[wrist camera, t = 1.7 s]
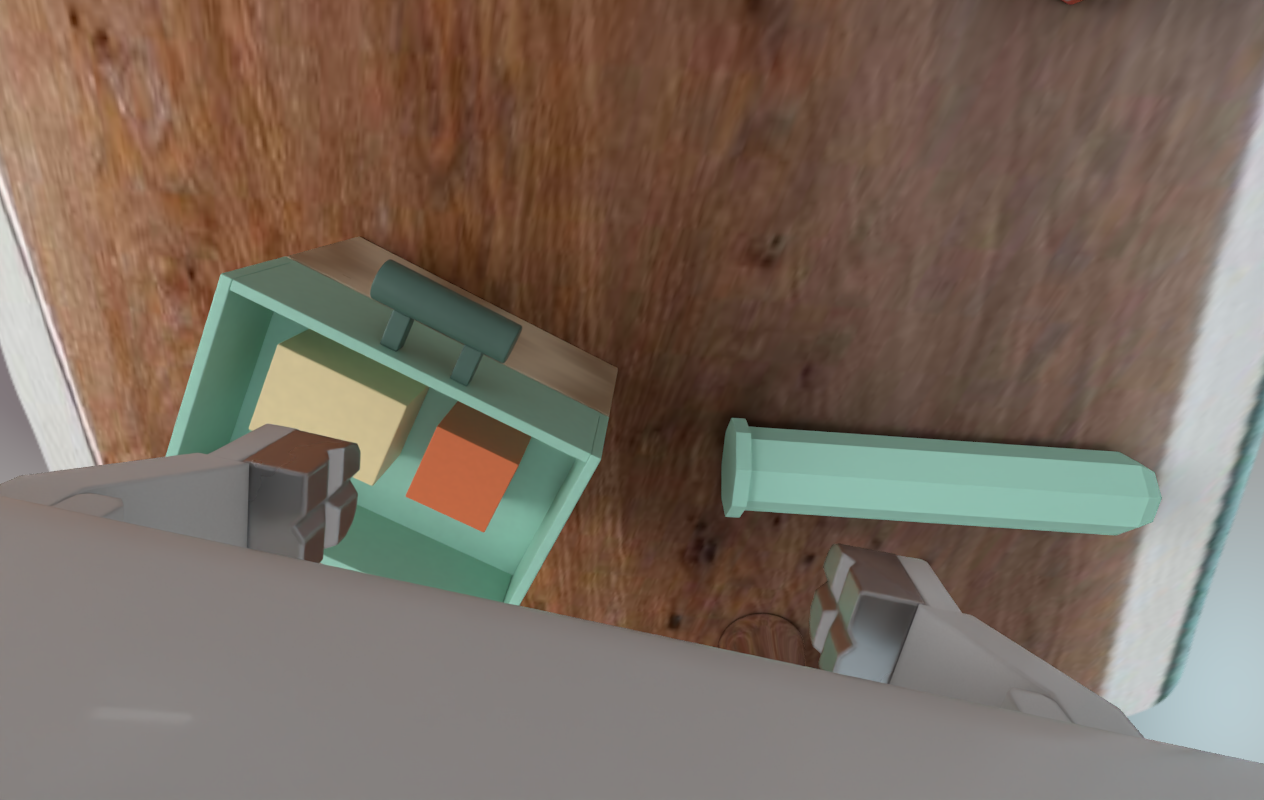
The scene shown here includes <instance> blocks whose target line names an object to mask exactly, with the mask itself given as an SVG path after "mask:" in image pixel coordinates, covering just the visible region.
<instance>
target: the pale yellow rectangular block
mask: <svg viewBox="0 0 1264 800" xmlns="http://www.w3.org/2000/svg"><path fill="white" fill-rule="evenodd" d="M429 388H430V387H428V386H426V385H424V384H422V383H420V382H418V381H416V380H414V379H412V378H410V377H408V376H406V375H404V374H402V373H400V372H398V371H395V370H393V369H391V368H389V367H387V366H385V365H383V364H381V363H379V362H377V361H375V360H373V359H371V358H369V357H367V356H365V355H363V354H360V353H358V352H356V351H354V350H352V349H350V348H348V347H346V346H344V345H342V344H340V343H338V342H336V341H334V340H332V339H330V338H328V337H325V336H323V335H321V334H319V333H317V332H315V331H313V330H311V329H308V330H306V331H304V332H302V333H300V334H298V335H296V336H294V337H291V338H289V339H287V340H285V341H283V342H281V343H279V344H278V345H277V347H276V350H275V353H274V356H273V359H272V362H271V365H270V368H269V371H268V373H267V376H266V379H265V382H264V385H263V388H262V391H261V394H260V397H259V399H258V402H257V405H256V408H255V411H254V414H253V417H252V420H251V423H250V426H249V430H251V431H253V430H255V429H257V428H259V427H261V426H263V425H265V424H267V423H268V424H274V425H279V426H285V427H290V428H296V429H299V430H300V431H305V432H309V433H314V434H318V435H323V436H327V437H331V438H336V439H340V440H345V441H349V442H353V443H357V444H358V446H359V449H360V451H361V457H360V470H359V471H358V472H357V473H356V474H355V475H354V476H353V478H355V479H358V480H360V481H362V482H364V483H366V484H369V485H371V486H373V485H374V484H375V483H376V482H377V481H378V479H379V478H380V477H381V476H382V475H383V474H384V473H385V471H386V470H387V469H388V468H389V467H390V466H391V464H392V463H393V462H394V461H395V460H396V459H397V458H398V456H399V455H400V453H401V451H402V449H403V447H404V444H405V442H406V440H407V438H408V435H409V433H410V431H411V428H412V426H413V424H414V422H415V419H416V417H417V415H418V413H419V410H420V408H421V406H422V403H423V401H424V399H425V397H426V394H427V392H428V390H429Z"/></svg>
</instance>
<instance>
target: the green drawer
mask: <svg viewBox="0 0 1264 800" xmlns="http://www.w3.org/2000/svg"><path fill="white" fill-rule="evenodd" d="M370 296H371V298H372V299H374V300H376V301H378V302H380V303H382V304H384V305H386V306H388V307H390V308H392V309H394V310H392V309H390V308H388V307H386V306H384V305H382V304H380V303H378V302H376V301H374V300H372V299H370V298H368V297H366V296H364V295H362V294H360V293H358V292H356V291H354V290H352V289H350V288H348V287H346V286H344V285H342V284H340V283H338V282H336V281H334V280H332V279H330V278H328V277H326V276H324V275H322V274H320V273H318V272H316V271H314V270H312V269H310V268H308V267H306V266H304V265H302V264H300V263H298V262H296V261H294V260H292V259H290V258H288V257H282V258H278V259H274V260H271V261H267V262H263V263H260V264H256V265H252V266H248V267H245V268H241V269H237V270H233V271H230V272H226V273H222V274H221V275H220V278H219V282H218V285H217V288H216V292H215V295H214V298H213V302H212V305H211V308H210V311H209V315H208V318H207V321H206V325H205V328H204V331H203V335H202V338H201V341H200V344H199V348H198V351H197V354H196V358H195V361H194V364H193V368H192V371H191V374H190V377H189V381H188V384H187V387H186V391H185V394H184V397H183V401H182V404H181V407H180V411H179V414H178V417H177V420H176V424H175V427H174V430H173V434H172V437H171V440H170V444H169V447H168V450H167V453H166V457H168V456H176V455H183V454H191V453H203V454H209V453H211V452H213V451H215V450H217V449H219V448H221V447H223V446H225V445H227V444H229V443H230V442H232V441H234V440H236V439H238V438H240V437H242V436H244V435H246V434H248V433H249V432H251V430H249V426H250V423H251V420H252V417H253V414H254V411H255V408H256V405H257V402H258V399H259V397H260V394H261V391H262V388H263V385H264V382H265V379H266V376H267V373H268V371H269V368H270V365H271V362H272V359H273V356H274V353H275V350H276V347H277V345H278V344H279V343H281V342H283V341H285V340H287V339H289V338H291V337H294V336H296V335H298V334H300V333H302V332H304V331H306V330H308V329H311V330H313V331H315V332H317V333H319V334H321V335H323V336H325V337H328V338H330V339H332V340H334V341H336V342H338V343H340V344H342V345H344V346H346V347H348V348H350V349H352V350H354V351H356V352H358V353H360V354H363V355H365V356H367V357H369V358H371V359H373V360H375V361H377V362H379V363H381V364H383V365H385V366H387V367H389V368H391V369H393V370H395V371H398V372H400V373H402V374H404V375H406V376H408V377H410V378H412V379H414V380H416V381H418V382H420V383H422V384H424V385H426V386H428V387H430V388H429V390H428V392H427V394H426V397H425V399H424V401H423V403H422V406H421V408H420V410H419V413H418V415H417V417H416V419H415V422H414V424H413V426H412V428H411V431H410V433H409V435H408V438H407V440H406V442H405V444H404V447H403V449H402V451H401V453H400V455H399V456H398V458H397V459H396V460H395V461H394V462H393V463H392V464H391V466H390V467H389V468H388V469H387V470H386V471H385V473H384V474H383V475H382V476H381V477H380V478H379V479H378V481H377V482H376V483H375V484H374V485H373V486H371V485H369V484H366V483H364V482H362V481H360V480H358V479H355V478H353V477H352V478H351V479H350V480H351V482H352V484H353V486H354V487H355V489H356V491H357V493H358V500H357V508H356V512H355V516H354V520H353V523H352V525H351V527H350V529H349V531H348V533H347V535H346V536H345V537H344V538H343V539H342V541H341V542H340V543H339V544H338V545H336V546H333V547H330V548H326V549H324V554H323V560H322V561H321V562H320V563H322V564H325V565H329V566H334V567H339V568H344V569H348V570H353V571H358V572H362V573H367V574H372V575H376V576H381V577H386V578H391V579H395V580H400V581H405V582H409V583H414V584H419V585H424V586H428V587H433V588H438V589H442V590H447V591H452V592H457V593H461V594H466V595H471V596H475V597H480V598H485V599H490V600H494V601H499V602H504V603H508V604H513V605H518V606H519V605H520V603H521V602H522V600H523V598H524V596H525V594H526V593H527V591H528V589H529V587H530V586H531V584H532V582H533V580H534V578H535V577H536V575H537V573H538V571H539V569H540V568H541V566H542V564H543V562H544V561H545V559H546V557H547V555H548V553H549V552H550V550H551V548H552V546H553V544H554V543H555V541H556V539H557V537H558V536H559V534H560V532H561V530H562V528H563V527H564V525H565V523H566V521H567V520H568V518H569V516H570V514H571V512H572V511H573V509H574V507H575V505H576V503H577V502H578V500H579V498H580V496H581V495H582V493H583V491H584V489H585V487H586V486H587V484H588V482H589V480H590V478H591V477H592V475H593V473H594V471H595V470H596V468H597V466H598V464H599V462H600V461H601V457H602V451H603V446H604V441H605V436H606V430H607V425H608V420H609V417H607V416H605V415H603V414H601V413H599V412H597V411H595V410H593V409H591V408H589V407H587V406H585V405H583V404H581V403H579V402H577V401H575V400H573V399H571V398H569V397H567V396H565V395H563V394H561V393H559V392H557V391H555V390H553V389H551V388H549V387H547V386H545V385H543V384H541V383H539V382H537V381H535V380H533V379H531V378H529V377H527V376H525V375H523V374H521V373H519V372H517V371H515V370H513V369H511V368H509V367H507V366H505V365H503V364H501V363H505V362H506V360H507V359H508V357H509V355H510V354H511V352H512V350H513V348H514V346H515V344H516V342H517V340H518V338H519V336H520V333H521V331H522V325H520V324H518V323H516V322H514V321H512V320H510V319H508V318H506V317H504V316H502V315H500V314H498V313H497V312H495V311H493V310H491V309H489V308H487V307H485V306H483V305H481V304H479V303H477V302H475V301H473V300H471V299H469V298H467V297H465V296H463V295H461V294H459V293H457V292H455V291H453V290H451V289H449V288H447V287H445V286H443V285H441V284H439V283H437V282H435V281H434V280H432V279H430V278H428V277H426V276H424V275H422V274H420V273H418V272H416V271H414V270H412V269H410V268H408V267H406V266H404V265H402V264H400V263H398V262H396V261H394V260H392V259H389V260H387V261H386V262H385V263H384V264H383V265H382V266H381V267H380V269H379V270H378V272H377V274H376V276H375V278H374V280H373V283H372V286H371V290H370ZM415 320H416V321H415ZM417 321H418V322H417ZM419 322H420V323H419ZM421 323H422V324H421ZM423 324H424V325H423ZM425 325H426V326H425ZM427 326H428V327H427ZM429 327H430V328H429ZM431 328H432V329H431ZM433 329H434V330H433ZM435 330H436V331H435ZM437 331H438V332H437ZM439 332H440V333H439ZM441 333H442V334H441ZM443 334H444V335H443ZM445 335H446V336H445ZM447 336H448V337H447ZM449 337H450V338H449ZM451 338H452V339H451ZM453 339H454V340H453ZM455 340H456V341H455ZM457 341H458V342H457ZM459 342H460V343H459ZM461 343H462V344H461ZM463 344H464V345H463ZM484 354H485V355H487V356H489V357H491V358H493V359H495V360H497V361H499V362H501V363H499V362H497V361H495V360H493V359H491V358H489V357H487V356H485V355H484ZM457 401H459V402H461V403H463V404H465V405H468V406H470V407H472V408H474V409H476V410H478V411H480V412H482V413H484V414H486V415H488V416H490V417H492V418H494V419H496V420H498V421H500V422H503V423H505V424H507V425H509V426H511V427H513V428H515V429H517V430H519V431H521V432H523V433H525V434H527V435H529V436H531V440H530V442H529V444H528V446H527V448H526V451H525V453H524V455H523V457H522V460H521V462H520V464H519V466H518V468H517V470H516V472H515V474H514V476H513V478H512V480H511V482H510V484H509V486H508V488H507V490H506V491H505V493H504V495H503V497H502V499H501V501H500V503H499V505H498V507H497V509H496V511H495V513H494V515H493V517H492V519H491V521H490V523H489V525H488V527H487V528H486V530H485V532H481V531H479V530H477V529H475V528H473V527H470V526H468V525H466V524H464V523H462V522H460V521H457V520H455V519H453V518H451V517H449V516H447V515H444V514H442V513H440V512H438V511H436V510H433V509H431V508H429V507H427V506H425V505H423V504H420V503H418V502H416V501H414V500H412V499H410V498H407V497H406V493H407V491H408V489H409V487H410V485H411V482H412V480H413V478H414V476H415V474H416V471H417V469H418V467H419V465H420V463H421V460H422V458H423V456H424V454H425V452H426V449H427V447H428V445H429V443H430V441H431V438H432V436H433V434H434V432H435V430H436V427H437V426H438V425H439V423H440V422H441V421H442V420H443V418H444V417H445V416H446V415H447V414H448V412H449V411H450V410H451V409H452V407H453V406H454V405H455V404H456V403H457Z"/></svg>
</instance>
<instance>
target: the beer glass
mask: <svg viewBox="0 0 1264 800" xmlns="http://www.w3.org/2000/svg"><path fill="white" fill-rule="evenodd" d="M718 648H720V649H725V650H730V651H734V652H739V653H744V654H749V655H753V656H758V657H763V658H768V659H772V660H777V661H782V662H786V663H791V664H796V665H801V666H805V647H804V642H803V638H802V636H801V634H800V632H799V631H798V630H797V628H796V627H795V626H794V625H793V624H792V623H790V622H789V621H787V620H786V619H784V618H781V617H779V616H775V615H771V614H753V615H749V616H745V617H743V618H740V619H738V620H737V621H735V622H734V623H732V624H731V625H730V626H729V627H728V628H727V629H726V630H725V631H724V633H723V634H722V636H721V638H720V641H719V645H718Z"/></svg>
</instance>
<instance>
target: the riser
mask: <svg viewBox="0 0 1264 800" xmlns="http://www.w3.org/2000/svg"><path fill="white" fill-rule="evenodd" d="M288 258H290V259H292V260H294V261H296V262H298V263H300V264H302V265H304V266H306V267H308V268H310V269H312V270H314V271H316V272H318V273H320V274H322V275H324V276H326V277H328V278H330V279H332V280H334V281H336V282H338V283H340V284H342V285H344V286H346V287H348V288H350V289H352V290H354V291H356V292H358V293H360V294H362V295H364V296H366V297H368V298H370V299H372V298H371V296H370V290H371V286H372V283H373V280H374V278H375V276H376V274H377V272H378V270H379V269H380V267H381V266H382V265H383V264H384V263H385V262H386V261H387V260H389V259H392V260H394V261H396V262H398V263H400V264H402V265H404V266H406V267H408V268H410V269H412V270H414V271H416V272H418V273H420V274H422V275H424V276H426V277H428V278H430V279H432V280H434V281H435V282H437V283H439V284H441V285H443V286H445V287H447V288H449V289H451V290H453V291H455V292H457V293H459V294H461V295H463V296H465V297H467V298H469V299H471V300H473V301H475V302H477V303H479V304H481V305H483V306H485V307H487V308H489V309H491V310H493V311H495V312H497V313H498V314H500V315H502V316H504V317H506V318H508V319H510V320H512V321H514V322H516V323H518V324H520V325H522V331H521V333H520V336H519V338H518V340H517V342H516V344H515V346H514V348H513V350H512V352H511V354H510V355H509V357H508V359H507V360H506V362H505V363H501V362H499V361H497V360H495V359H493V358H491V357H489V356H487V355H485V354H484V355H485V356H487V357H489V358H491V359H493V360H495V361H497V362H499V363H501V364H503V365H505V366H507V367H509V368H511V369H513V370H515V371H517V372H519V373H521V374H523V375H525V376H527V377H529V378H531V379H533V380H535V381H537V382H539V383H541V384H543V385H545V386H547V387H549V388H551V389H553V390H555V391H557V392H559V393H561V394H563V395H565V396H567V397H569V398H571V399H573V400H575V401H577V402H579V403H581V404H583V405H585V406H587V407H589V408H591V409H593V410H595V411H597V412H599V413H601V414H603V415H605V416H607V417H609V414H610V409H611V404H612V398H613V393H614V388H615V383H616V377H617V372H618V368H616V367H614V366H612V365H610V364H608V363H606V362H604V361H603V360H601V359H599V358H597V357H595V356H593V355H591V354H589V353H587V352H585V351H583V350H581V349H579V348H577V347H575V346H573V345H571V344H569V343H567V342H565V341H563V340H561V339H559V338H557V337H555V336H553V335H551V334H550V333H548V332H546V331H544V330H542V329H540V328H538V327H536V326H534V325H532V324H530V323H528V322H526V321H524V320H522V319H520V318H518V317H516V316H514V315H512V314H510V313H508V312H506V311H504V310H502V309H500V308H498V307H496V306H495V305H493V304H491V303H489V302H487V301H485V300H483V299H481V298H479V297H477V296H475V295H473V294H471V293H469V292H467V291H465V290H463V289H461V288H459V287H457V286H455V285H453V284H451V283H449V282H447V281H445V280H443V279H441V278H440V277H438V276H436V275H434V274H432V273H430V272H428V271H426V270H424V269H422V268H420V267H418V266H416V265H414V264H412V263H410V262H408V261H406V260H404V259H402V258H400V257H398V256H396V255H394V254H392V253H390V252H388V251H386V250H385V249H383V248H381V247H379V246H377V245H375V244H373V243H371V242H369V241H367V240H365V239H363V238H361V237H356V238H352V239H348V240H345V241H341V242H337V243H334V244H330V245H326V246H323V247H319V248H315V249H312V250H308V251H304V252H301V253H297V254H293V255H290V256H288ZM372 300H374V299H372ZM374 301H376V300H374ZM376 302H378V301H376ZM378 303H380V302H378ZM380 304H382V303H380ZM382 305H384V304H382ZM384 306H386V305H384ZM386 307H388V306H386ZM388 308H390V307H388ZM390 309H392V308H390ZM392 310H394V309H392ZM415 321H416V320H415ZM417 322H418V321H417ZM419 323H420V322H419ZM421 324H422V323H421ZM423 325H424V324H423ZM425 326H426V325H425ZM427 327H428V326H427ZM429 328H430V327H429ZM431 329H432V328H431ZM433 330H434V329H433ZM435 331H436V330H435ZM437 332H438V331H437ZM439 333H440V332H439ZM441 334H442V333H441ZM443 335H444V334H443ZM445 336H446V335H445ZM447 337H448V336H447ZM449 338H450V337H449ZM451 339H452V338H451ZM453 340H454V339H453ZM455 341H456V340H455ZM457 342H458V341H457ZM459 343H460V342H459ZM461 344H462V343H461ZM463 345H464V344H463Z"/></svg>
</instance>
